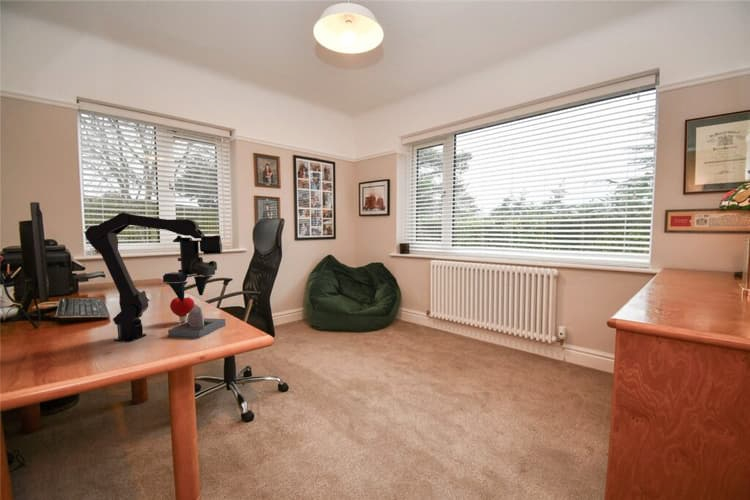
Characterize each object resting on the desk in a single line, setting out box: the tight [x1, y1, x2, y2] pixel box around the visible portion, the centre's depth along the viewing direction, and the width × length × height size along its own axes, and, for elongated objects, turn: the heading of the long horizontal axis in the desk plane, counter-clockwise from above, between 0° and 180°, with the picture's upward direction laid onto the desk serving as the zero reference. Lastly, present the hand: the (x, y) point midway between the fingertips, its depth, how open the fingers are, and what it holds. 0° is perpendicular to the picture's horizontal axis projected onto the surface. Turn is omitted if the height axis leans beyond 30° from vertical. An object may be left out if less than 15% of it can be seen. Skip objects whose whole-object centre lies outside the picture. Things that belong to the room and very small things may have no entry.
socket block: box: [167, 317, 226, 339], centre depth 114 cm, size 12×14×2 cm
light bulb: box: [169, 296, 196, 324], centre depth 124 cm, size 9×7×10 cm
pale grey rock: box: [186, 303, 205, 327], centre depth 113 cm, size 6×4×10 cm, turn 83°
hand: (191, 298), depth 112 cm, fingers open, 9 cm apart
